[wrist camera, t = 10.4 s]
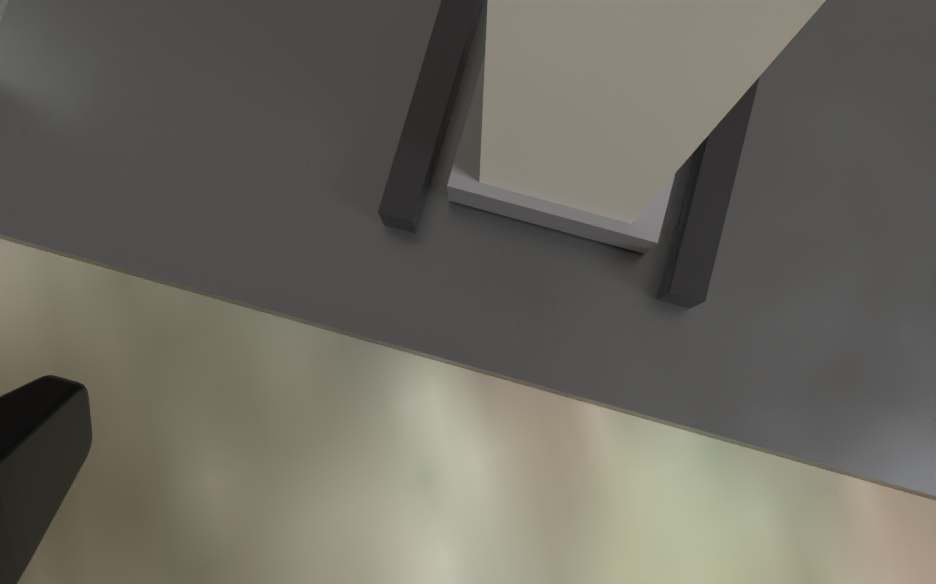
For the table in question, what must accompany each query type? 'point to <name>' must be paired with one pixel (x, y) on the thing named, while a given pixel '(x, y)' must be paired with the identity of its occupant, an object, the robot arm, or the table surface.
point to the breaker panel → (497, 236)
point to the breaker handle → (607, 105)
